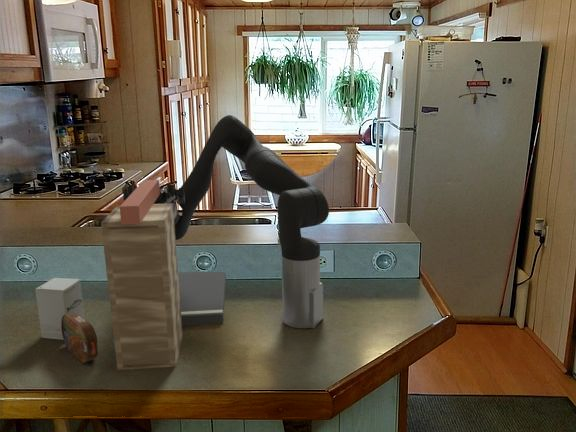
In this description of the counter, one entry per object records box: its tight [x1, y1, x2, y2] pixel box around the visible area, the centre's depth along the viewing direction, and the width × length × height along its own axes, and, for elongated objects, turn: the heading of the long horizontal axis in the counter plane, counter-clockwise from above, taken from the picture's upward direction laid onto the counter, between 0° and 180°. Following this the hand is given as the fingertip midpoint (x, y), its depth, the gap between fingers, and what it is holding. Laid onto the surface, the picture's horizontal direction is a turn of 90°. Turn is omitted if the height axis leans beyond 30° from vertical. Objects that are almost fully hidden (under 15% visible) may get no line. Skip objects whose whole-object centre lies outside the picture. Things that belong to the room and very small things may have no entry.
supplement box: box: [34, 277, 86, 341], centre depth 124 cm, size 7×7×13 cm
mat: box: [178, 271, 227, 326], centre depth 142 cm, size 30×18×3 cm, turn 5°
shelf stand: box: [100, 203, 184, 371], centre depth 112 cm, size 14×12×32 cm
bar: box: [120, 179, 161, 224], centre depth 111 cm, size 26×4×4 cm, turn 5°
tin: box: [61, 313, 99, 364], centre depth 115 cm, size 15×3×8 cm, turn 42°
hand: (149, 187), depth 121 cm, fingers open, 8 cm apart
